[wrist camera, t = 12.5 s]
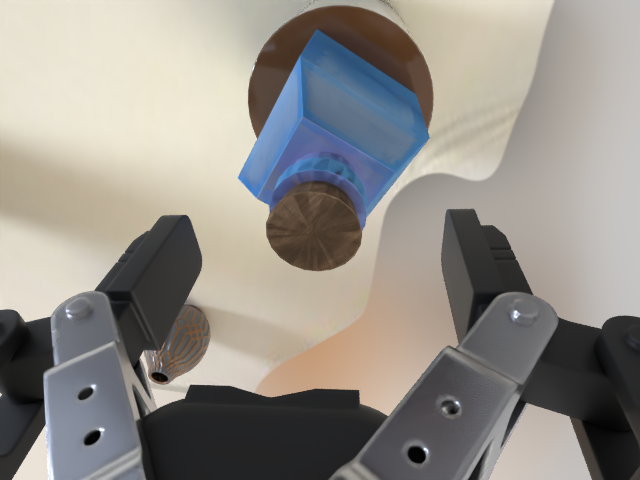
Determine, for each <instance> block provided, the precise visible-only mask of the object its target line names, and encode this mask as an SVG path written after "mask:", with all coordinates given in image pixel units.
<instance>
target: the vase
mask: <svg viewBox="0 0 640 480" xmlns="http://www.w3.org/2000/svg"><path fill="white" fill-rule="evenodd" d="M209 341H210V326H209V323H208V320H207V319H206V317H205V316H204V314H203V313H202V312H201V311H200V310H198V309H196V308H194V307H192V306H188V305H183V307H182V309H181V311H180V313H179V315H178V317H177V319H176V321H175V323H174V325H173V326H172V328H171V330H170V332H169V334H168V336H167V338H166V340H165V342H164V344H163V346H162V348H161V350H160V351H158V350H144V355H145V358H146V362H147V365H148V376H149V378H150V379H151V380H152V381H153V382H155V383H157V384H162V385H165V384H168V383H170V382H171V381H172V380H173V379H174V378H176V377H178V376H180V375H182V374H184V373H186V372H188V371H190V370H191V369H193V368H194V367H195V366H196V365H197V364H198V363H199V362H200V360H201V359H202V358H203V356H204V354H205V352H206V350H207V348H208V345H209Z"/></svg>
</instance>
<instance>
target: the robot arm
mask: <svg viewBox="0 0 640 480" xmlns="http://www.w3.org/2000/svg"><path fill="white" fill-rule="evenodd" d="M441 262H442V272H443V276H444V281H445V285H446V290H447V294H448V298H449V303H450V307H451V312H452V316H453V320H454V325H455V329H456V334H457V338H458V343H459V345H458V346H457V347H456V348H453V347H451V346H447V347H445V348H444V349H443V350H442V351H441V352H440V353H439V355H438V356H437V357H436V358H435V359H434V361H433V362H432V363H431V364H430V366H429V367H428V368H427V369H426V371H425V372H424V373H423V374H422V376H421V377H420V378H419V379H418V380H417V382H416V383H415V384H414V385H413V387H412V388H411V389H410V390H409V392H408V393H407V394H406V395H405V397H404V398H403V399H402V400H401V402H400V403H399V404H398V405H397V406H396V408H395V409H394V410H393V411H392V413H391V414H390V415H389V416H387V415H385V414H383V413H381V412H380V411H378V410H375V409H373V408H371V407H368V406H365V405H362V404H360V400H359V399H360V398H359V390H337V389H313V390H307V391H303V392H297V393H292V394H287V395H282V396H277V397H265V396H262V395H258V394H255V393H252V392H248V391H245V390H242V389H238V388H235V387H232V386H214V385H190V387H189V389H188V392H187V394H186V397H185V399H181V400H178V401H175V402H172V403H169V404H167V405H165V406H162V407H160V408H158V409H157V406H156V404H155V400H154V397H153V394H152V391H151V387H150V384H149V381H148V378H147V375H146V372H145V368H144V365H143V363H142V361H141V359H140V356H141V354H142V352H143V351H144V350H158V351H160V350H161V348H162V346H163V344H164V342H165V340H166V338H167V336H168V334H169V332H170V330H171V328H172V326H173V325H174V323H175V321H176V319H177V317H178V315H179V313H180V311H181V309H182V307H183V305H184V303H185V301H186V299H187V297H188V295H189V293H190V291H191V289H192V287H193V285H194V283H195V281H196V279H197V277H198V276H199V274H200V271H201V268H202V255H201V251H200V248H199V245H198V242H197V239H196V236H195V233H194V230H193V227H192V223H191V221H190V219H189V217H188V216H187V215H164V216H161V217H160V218H159V220H158V221H157V222H156V224H155V225H154V226H153V227H152V229H151V230H150V231H147V232H145V233H144V234H142V235H141V236H139V237H138V238H137V239H135V240H134V241H133V242H132V243H131V245H130V246H129V247H128V248H127V250H126V251H125V254H123V255H122V256H121V257H120V259H119V260H118V263H116V264H115V265H114V266H113V267H112V269H111V270H110V271H109V273H108V274H107V275H106V276H105V278H104V279H103V280H102V281H101V283H100V284H99V285H98V286H97V288H96V289H95V290H94V291H90V292H84V293H81V294H78V295H76V296H73V297H71V298H69V299H68V300H66V301H65V302H63V303H62V304H61V305H59V306H58V307H57V308H56V310H55V311H54V312H53V314H52V316H51V317H47V318H43V319H39V320H34V321H30V322H25V321H24V320H23V319H22V317H21V316H20V315H19V313H18V312H17V311H15V310H0V393H1V394H2V396H1V397H0V480H12V478H13V477H14V475H15V474H16V472H17V470H18V469H19V467H20V465H21V464H22V462H23V460H24V459H25V457H26V455H27V454H28V452H29V451H30V449H31V447H32V446H33V444H34V442H35V441H36V439H37V437H38V436H39V434H40V433H41V431H42V429H43V428H44V426H45V424H46V438H47V457H48V476H49V480H488V479H489V478H490V475H491V473H492V471H493V469H494V466H495V464H496V462H497V460H498V458H499V456H500V454H501V452H502V450H503V449H504V447H505V445H506V443H507V442H508V440H509V438H510V436H511V434H512V432H513V431H514V429H515V427H516V425H517V423H518V422H519V420H520V418H521V416H522V414H523V412H524V411H525V409H526V407H527V405H528V404H532V405H535V406H538V407H542V408H545V409H548V410H551V411H555V412H557V413H561V414H564V415H567V416H570V419H571V422H572V425H573V428H574V430H575V433H576V436H577V439H578V442H579V444H580V447H581V450H582V453H583V456H584V458H585V461H586V464H587V467H588V469H589V472H590V475H591V478H592V480H640V318H639V317H634V316H616V317H612V318H610V319H608V320H607V321H606V322H605V323H604V324H603V326H602V329H599V328H595V327H590V326H587V325H582V324H577V323H574V322H570V321H567V320H564V319H561V318H559V317H558V316H557V314H556V312H555V310H554V309H553V308H552V307H551V306H550V305H549V304H548V303H547V302H545V301H544V300H542V299H541V298H538V297H537V296H534V295H533V293H532V291H531V289H530V287H529V285H528V283H527V280H526V278H525V276H524V274H523V272H522V270H521V268H520V266H519V263H518V261H517V260H516V257H515V255H514V253H513V251H512V250H511V246H510V244H509V242H508V240H507V238H506V236H505V235H504V234H503V233H502V232H500V231H499V230H498V229H497V228H496V227H494V226H493V225H488V226H487V225H486V226H481V225H480V222H479V220H478V217H477V215H476V212H475V210H474V209H448V210H447V211H446V216H445V225H444V234H443V243H442V253H441Z"/></svg>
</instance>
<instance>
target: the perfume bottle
mask: <svg viewBox="0 0 640 480" xmlns="http://www.w3.org/2000/svg"><path fill="white" fill-rule="evenodd" d="M428 139H429V134H428V131H427V128H426V125H425V121H424V118H423V115H422V112H421V108H420V105H419V102H418V99H417V96H416V94H415V93H413V92H412V91H410V90H409V89H407V88H406V87H404V86H403V85H401V84H400V83H398V82H397V81H395V80H394V79H392V78H391V77H389V76H388V75H386V74H385V73H383V72H382V71H380V70H379V69H377V68H376V67H374V66H373V65H371V64H369V63H368V62H366V61H365V60H363V59H362V58H360V57H359V56H357V55H356V54H354V53H353V52H351V51H350V50H348V49H347V48H345V47H344V46H342V45H341V44H339V43H338V42H336V41H335V40H333V39H332V38H330V37H329V36H327V35H326V34H324V33H323V32H321V31H319V30H318V29H317V30H316V31H315V33H314V34H313V36H312V38H311V39H310V41H309V42H308V44H307V45H306V47H305V49H304V50H303V52H302V53H301V55H300V57H299V59H298V61H297V63H296V64H295V66H294V68H293V70H292V72H291V74H290V76H289V78H288V80H287V82H286V84H285V86H284V88H283V90H282V92H281V94H280V96H279V98H278V100H277V102H276V104H275V106H274V108H273V110H272V112H271V114H270V115H269V117H268V119H267V121H266V123H265V125H264V127H263V129H262V131H261V133H260V135H259V137H258V139H257V141H256V143H255V145H254V147H253V149H252V151H251V153H250V155H249V157H248V159H247V161H246V163H245V165H244V167H243V168H242V170H241V172H240V174H239V176H238V179H239V180H240V181H241V182H242V183H243V184H244V185H245V186H246V187H247V188H248V190H249V191H250V192H251V193H252V194H253V195H254V196H255V197H256V198H257V199H259V200H260V201H262V202H264V203H266V204H268V205H269V207H270V214H269V217H268V220H267V222H266V233H267V238H268V240H269V243H270V245H271V247H272V249H273V250H274V251H275V252H276V253H277V254H278V256H279V257H280V258H282V259H283V260H285V261H286V262H288V263H289V264H291V265H293V266H296V267H298V268H301V269H304V270H312V271H324V270H331V269H334V268H337V267H339V266H341V265H344V264H345V263H346V262H348V261H349V260H350V259H351V258H352V257H353V256H355V254H356V252H357V250H358V248H359V247H360V245H361V238H362V230H363V228H364V226H365V222H366V217H367V216H368V215H369V214H370V212H371V211H372V210H373V209H374V207H375V206H376V205H377V204H378V202H379V201H380V200H381V199H382V197H383V196H384V195H385V194H386V192H387V191H388V190H389V188H390V187H391V186H392V185H393V183H394V182H395V181H396V180H397V178H398V177H399V176H400V175H401V173H402V172H403V171H404V170H405V168H406V167H407V166H408V165H409V163H410V162H411V161H412V160H413V158H414V157H415V156H416V155H417V153H418V152H419V151H420V149H421V148H422V147H423V146H424V144H425V143H426V142H427V141H428Z"/></svg>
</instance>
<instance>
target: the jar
mask: <svg viewBox="0 0 640 480" xmlns="http://www.w3.org/2000/svg"><path fill="white" fill-rule="evenodd" d="M317 29H318V30H319V31H321V32H323V33H324V34H326V35H327V36H329V37H330V38H332V39H333V40H335V41H336V42H338V43H339V44H341V45H342V46H344V47H345V48H347V49H348V50H350V51H351V52H353V53H354V54H356V55H357V56H359V57H360V58H362V59H363V60H365V61H366V62H368V63H369V64H371V65H373V66H374V67H376V68H377V69H379V70H380V71H382V72H383V73H385V74H386V75H388V76H389V77H391V78H392V79H394V80H395V81H397V82H398V83H400V84H401V85H403V86H404V87H406V88H407V89H409V90H410V91H412V92H413V93H415V94H416V96H417V99H418V102H419V105H420V108H421V112H422V115H423V118H424V121H425V125H426V128H427V131H428V129H429V125H430V121H431V118H432V111H433V87H432V80H431V76H430V72H429V68H428V66H427V64H426V61H425V59H424V57H423V54H422V52H421V51H420V49H419V47H418V46H417V44H416V42H415V41H414V40H413V38H412V37H411V36H410V35H409V33H408V30H407V28H406V26H405V24H404V23H403V21H402V19H401V18H400V17H399V15H398V14H397V13H396V12H395V11H394V10H393V9H392V8H391V7H390V6H389V5H388V4H386V3H385V2H383V1H382V0H316V1H315V2H313V3H312V4H310V5H309V6H308V7H307V8H306V9H305V10H304V11H302V12H301V13H300V14H298V15H296V16H295V17H293V18H292V19H290V20H289V21H287V22H286V23H285V24H284V25H282V26H281V27H280V28H279V29H278V30H277V31H276V32H275V33H274V34H273V35H272V36H271V37H270V39H269V40H268V41H267V42H266V44H265V45H264V47H263V48H262V50H261V52H260V53H259V55H258V57H257V59H256V62H255V64H254V66H253V70H252V73H251V77H250V82H249V89H248V107H249V115H250V119H251V123H252V127H253V129H254V132H255V135H256V137H257V139H258V137H259V135H260V133H261V131H262V129H263V127H264V125H265V123H266V121H267V119H268V117H269V115H270V114H271V112H272V110H273V108H274V106H275V104H276V102H277V100H278V98H279V96H280V94H281V92H282V90H283V88H284V86H285V84H286V82H287V80H288V78H289V76H290V74H291V72H292V70H293V68H294V66H295V64H296V63H297V61H298V59H299V57H300V55H301V53H302V52H303V50H304V49H305V47H306V45H307V44H308V42H309V41H310V39H311V38H312V36H313V34H314V33H315V31H316V30H317Z"/></svg>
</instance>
